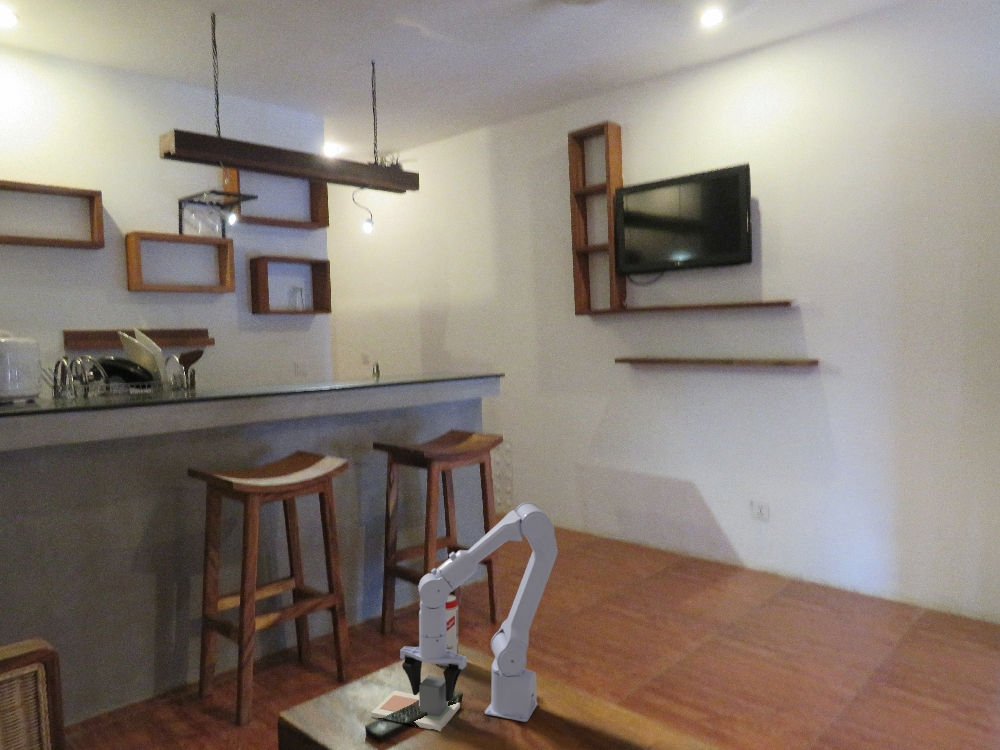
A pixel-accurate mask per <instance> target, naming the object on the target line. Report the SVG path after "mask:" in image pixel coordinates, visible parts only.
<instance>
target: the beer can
mask: <svg viewBox="0 0 1000 750" xmlns="http://www.w3.org/2000/svg"><path fill="white" fill-rule="evenodd" d="M445 609H446V627H447V650H448V651H451V652H453V653H456V654H459V602H458V601H457V597H456V595H453V594H449V596H448V599H447V601H446V603H445ZM435 664H436V666H441V667H448V665H444V664H438V663H435Z"/></svg>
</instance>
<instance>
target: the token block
mask: <svg viewBox="0 0 1000 750" xmlns="http://www.w3.org/2000/svg"><path fill="white" fill-rule="evenodd" d="M418 695H419V706H420V711H424V712H427V714H428V715H433V716H438V717H439V716H440V715H441V714H442V713H443V712H444V710H445V709H446V708H447V707H448V701H446V684H445V677H440V676H436V675H435V676H434V675H429V674H428V675H427V677H425V679H424V680H422V681H421V684H420V685H419V693H418Z"/></svg>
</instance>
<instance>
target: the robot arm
mask: <svg viewBox="0 0 1000 750" xmlns="http://www.w3.org/2000/svg"><path fill="white" fill-rule="evenodd" d="M522 536H524V537H525V538H526V539H527V541H528V544H529V546H530V548H531V549H532V552H531V555H530V557H529V559H528V563H527V566H526V568H525V571H524V574H523V576H522V579H521V582H520V584H519V587H518V590H517V593H516V594H515V598H514V600H513V603H512V605H511V608H510V611H509V613H508V615H507V616H508V617H507V618H506V619H505V620H504V621H503V622H502V623H501V625H500V628H499V629H498V631H497V632H496V633H495V634H494V635H492V638H491V641H490V649H491V651H492V653H493V655H494V660H493V662H492V663H491V683H490V684H491V687H490V688H491V690H490V691H491V697H490V699H491V702H490V703H489V705H488V707H487V708H486V709H485V710H484V714H485V715H487V716H494V717H499V718H503V719H509V720H514V721H519V722H523V723H527V722H528V721H529V720H530V718H531V716H532V714H533V712H534V711H535V709H536V708H537V706H538V702H537V700H538V698H537V696H538V695H537V693H538V692H537V689H538V688H537V687H538V685H537V684H538V683H537V681H538V680H537V679H538V678H537V674H536V672H535V671H532V670H530V669H528V668H526V665H527V651H528V647H529V645H530V644H529V641H530V639H529V638H530V636H529V635H530V633H529V632H530V628H531V626H532V624H533V621H534V619H535V615H536V613H537V610H538V607H539V605H540V602H541V599H542V597H543V594H544V591H545V588H546V586H547V584H548V581H549V578H550V576H551V573H552V570H553V568H554V564H555V562H556V558H557V557H558V545H557V544H558V543H557V539H556V534H555V526H554V524H553V523H552V521H551V519H550V518H549V516H548V515H547V514H546V513H545V512H543V511H542V510H541V508H540V507H539V506H538V505H537V504H536V503H533V502H527V501H526V502H522V503H520V504H519V505H517V507H516V508H515V510H514V509H512V510H511V511H509V512H508V513H507V514H506V515H505V516H504V517H503V518H502V519H501V520H500V521H499V522H498V523H497V524H495V525H494V526H493V527H492V528H491V529H490V530H489V531H488V532H487V533H485V535H484V536H482V537H481V538H480V539H479V540H478V541H477V542H476V543H474V544H473V545H472V546H471V547H470V548H469V549H468V550H466V549H465V550H464V549H459V550H458V551H457V552H455V551H452V552H450V553H449V554H448V557H449V558H448V559H447V560H445V561H444V562H443V563H442V564H441V565H439V566H438V567H437V568H435V567H434V568H432V569H431V571H430V573H426V574H425V575H423V576H422V577H421V578H420V580H419V583H418V585H417V589H418V593H419V598H420V601H419V612H418V621H419V623H418V624H419V625H418V629H419V630H418V632H419V633H418V634H419V635H418V636H419V637H418V639H419V641H418V642H419V643H418V646H405V645H404V646H403V647H402V648H401V649H400V650H399V652H400V655H399V658H400V659H401V660H404V662H403V663H402V664H401V665H402V669H403V671H404V672H405V674H406V676H407V678H408V680H409V683H410V686H411V690H412V694H413V695H419V685H420V684H421V683H422V679H421V677H422V676H421V675H422V666H423V663H426V664H436V663H438V664H444V665H448V666H447V667H445V669H444V670H443V678H445V684H446V701H448V702H449V701H452V700H453V698H454V694H455V690H456V689H455V688H456V685H457V682H458V679H459V677H460V675H461V672H462V670H464V669H465V668H466V667H467V656H466V655H461V654H459V653H458V654H456V653H453V652H451V651H448V650H447V627H446V609H445V603H446V601H447V599H448V596H449V595H450V593H452V592H454V591H455V590H456V589H457V588H458V587H460V586H461V585H462V584H463V583H465V581H467V580H469V578H470V577H472V576H473V575H474V574H475V573H477V566H478V564H479V563H480V562H481V561H483V559H484V560H485V558H486V557H488V556H489V555H491V554H492V553H494V552H495V551H496V550H497V549H498V548H500V547H501V546H503V545H504V544H505V543H507V542H523V541H524V540H523V538H522Z"/></svg>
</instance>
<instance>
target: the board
mask: <svg viewBox="0 0 1000 750" xmlns="http://www.w3.org/2000/svg"><path fill="white" fill-rule="evenodd" d="M417 700H419V694H417V695H413V693H408V692H405V691H400V690H393V691H392V692H391V693H390V694H389V695H388V696H386V698H385V699H383V700H382V701H381V702H380V703H379V704H378V705H377V706H376V707H375V708H374V709H373V710H372V711H371V712H370V718H375V719H378V718H381V717H384V716H387V715H389V714H391V713H393V712H396V711H398V710H400V709H402V708H404V707H407V706H409V705H411V704H413V703H414V702H416V701H417ZM460 705H461V702H457V703H456V704H453V705H450V706H448V707H447V708H446V709H445V710H444V712H443V713H442V714H441V715H440V716H439V717H438V716H433V715H427V716H424V717H423V718H421V719H418V720H416V721H414V722H415V723H416V724H417V725H418V726H419V727H418V728H422V729H426V730H427V729H428V730H431V729H435V730H438V731H437V732H441V731H442V730H443V729H444V728H445V726H446V725H448V722H450V720H451V719H452V718H453V717H454V716H455V714H456V713H457V712H458V710H460V707H461V706H460ZM443 727H444V728H443ZM442 728H443V729H442ZM441 729H442V730H441ZM435 730H434V731H435Z"/></svg>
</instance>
